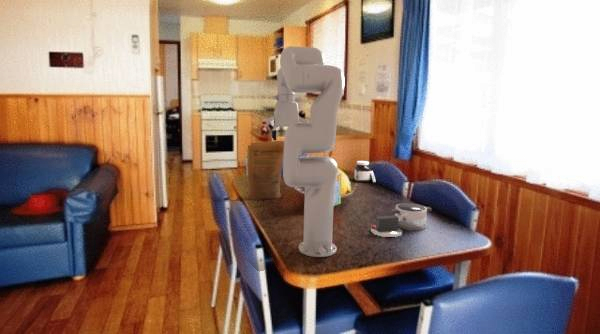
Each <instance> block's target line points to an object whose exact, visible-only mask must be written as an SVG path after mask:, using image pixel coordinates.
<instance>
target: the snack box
mask: <svg viewBox="0 0 600 334" xmlns="http://www.w3.org/2000/svg"><path fill="white" fill-rule="evenodd" d="M310 188H311V186H305V187H304V197H305V196H306V194H307V192H308V191H309V189H310ZM341 201H342V172H338V174H337V179H336V184H335V190H334V206H333V207H335V206H338V205H341V204H342V202H341Z"/></svg>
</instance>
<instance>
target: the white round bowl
mask: <svg viewBox="0 0 600 334" xmlns="http://www.w3.org/2000/svg"><path fill="white" fill-rule="evenodd" d="M398 220H399V217H397V216H395V214H393V215H383V216H376V217H375V224H371V226H370V232H372V233H373V234H372V233H371V234H372V235H374V236H376V235H377V236H376V237H380V236H381V237H380V238H385V237H395V238H398V236H399V237H402V235H403V229H401V228H398Z"/></svg>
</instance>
